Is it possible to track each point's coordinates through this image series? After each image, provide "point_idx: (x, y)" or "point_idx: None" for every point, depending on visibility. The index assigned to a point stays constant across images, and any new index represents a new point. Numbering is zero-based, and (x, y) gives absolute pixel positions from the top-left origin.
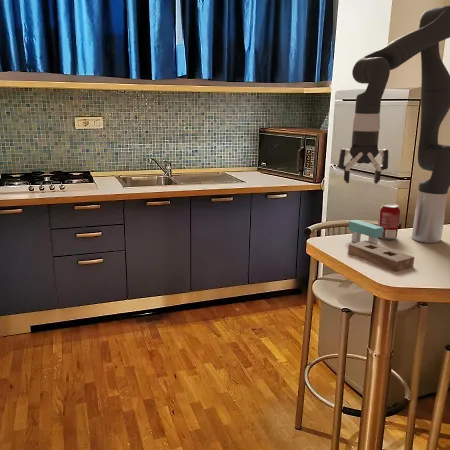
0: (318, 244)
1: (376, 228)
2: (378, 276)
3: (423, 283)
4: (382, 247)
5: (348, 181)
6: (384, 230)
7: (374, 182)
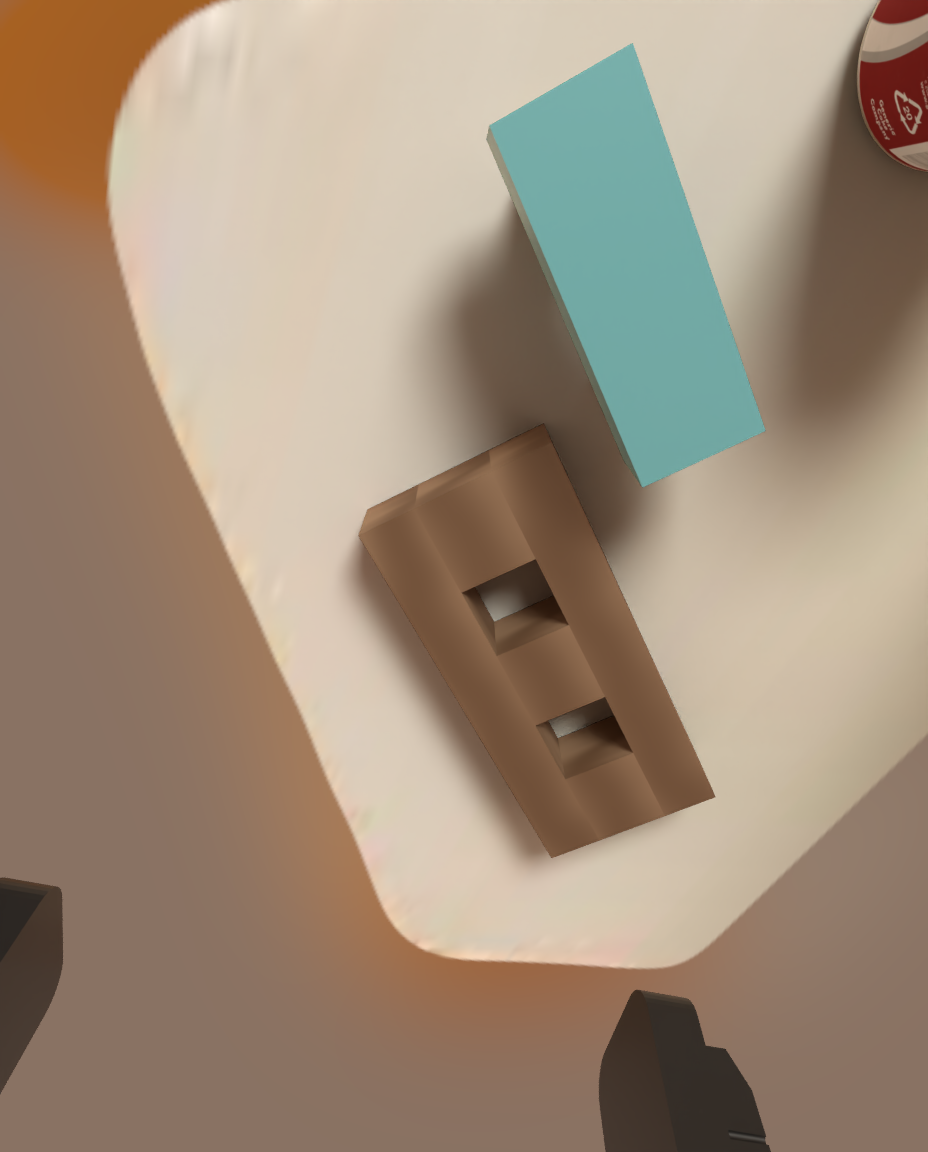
0: (169, 274)
1: (666, 468)
2: (416, 862)
3: (604, 936)
4: (602, 618)
5: (27, 1022)
6: (921, 130)
7: (624, 1023)
